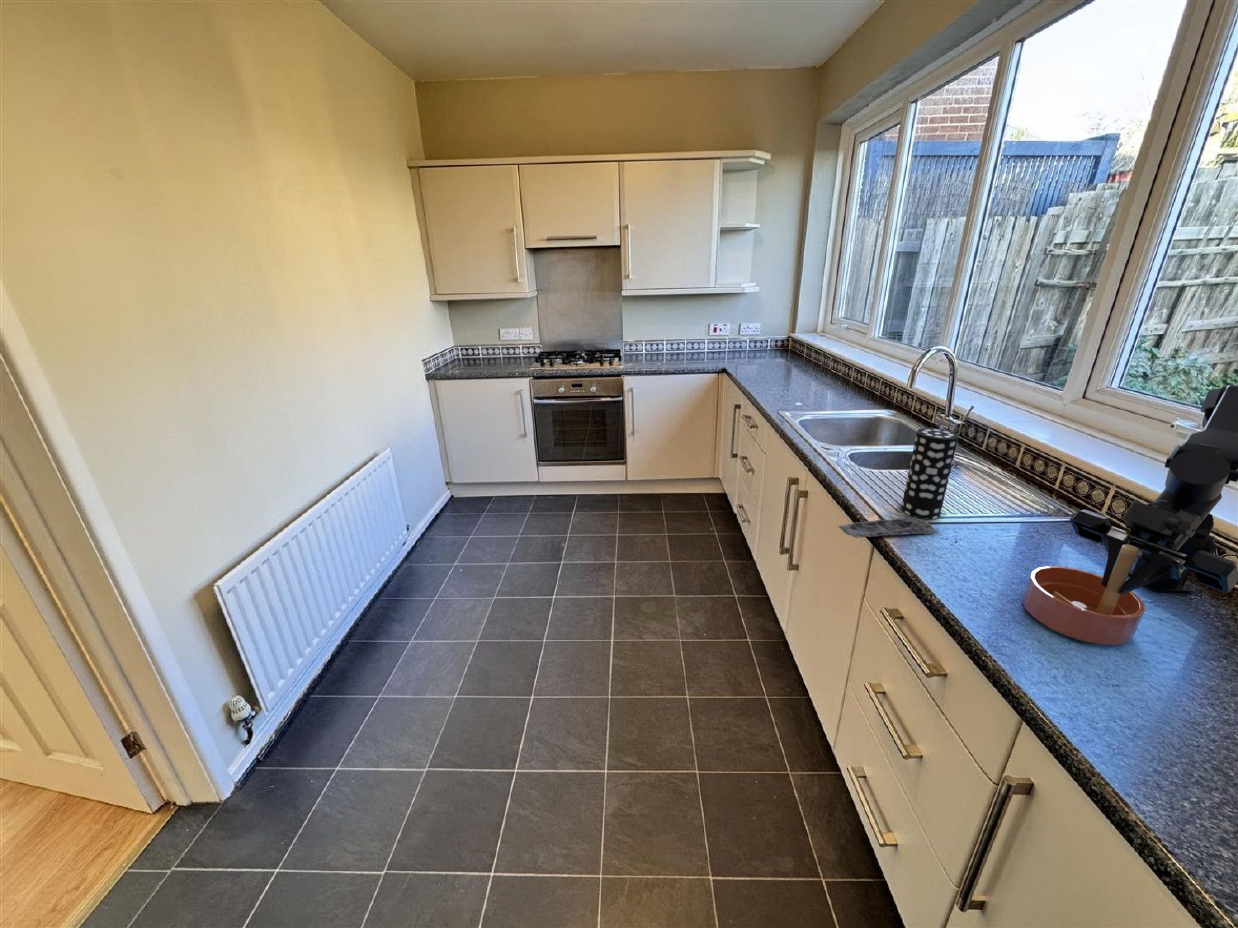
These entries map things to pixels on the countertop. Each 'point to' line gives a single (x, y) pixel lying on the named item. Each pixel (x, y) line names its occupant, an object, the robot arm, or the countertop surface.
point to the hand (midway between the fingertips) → (1111, 589)
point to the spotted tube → (929, 472)
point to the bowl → (1077, 619)
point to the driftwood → (887, 527)
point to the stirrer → (1111, 582)
